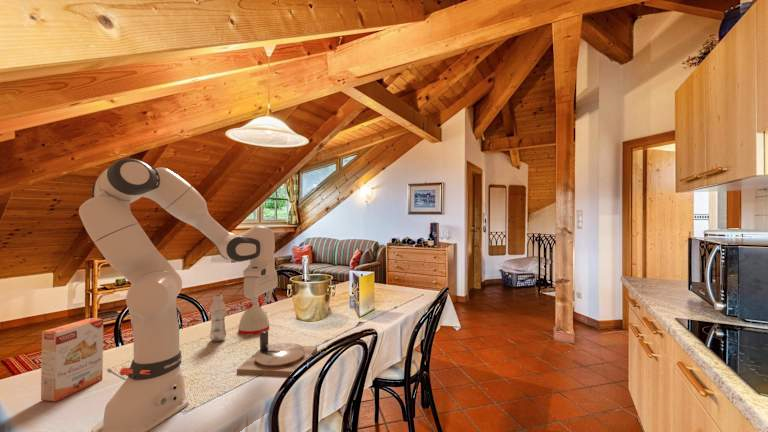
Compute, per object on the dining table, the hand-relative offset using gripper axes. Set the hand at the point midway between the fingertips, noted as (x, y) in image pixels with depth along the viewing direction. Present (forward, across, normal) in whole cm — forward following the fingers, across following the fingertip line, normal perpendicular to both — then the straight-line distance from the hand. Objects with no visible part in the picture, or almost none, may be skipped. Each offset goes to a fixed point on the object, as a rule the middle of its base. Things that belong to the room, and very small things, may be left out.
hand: (261, 304), depth 125 cm
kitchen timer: (+22, -32, -20) cm, 43 cm away
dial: (+19, 0, +7) cm, 21 cm away
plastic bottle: (+22, -17, -29) cm, 40 cm away
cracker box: (+22, +26, -50) cm, 60 cm away
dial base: (+21, 0, +7) cm, 22 cm away
